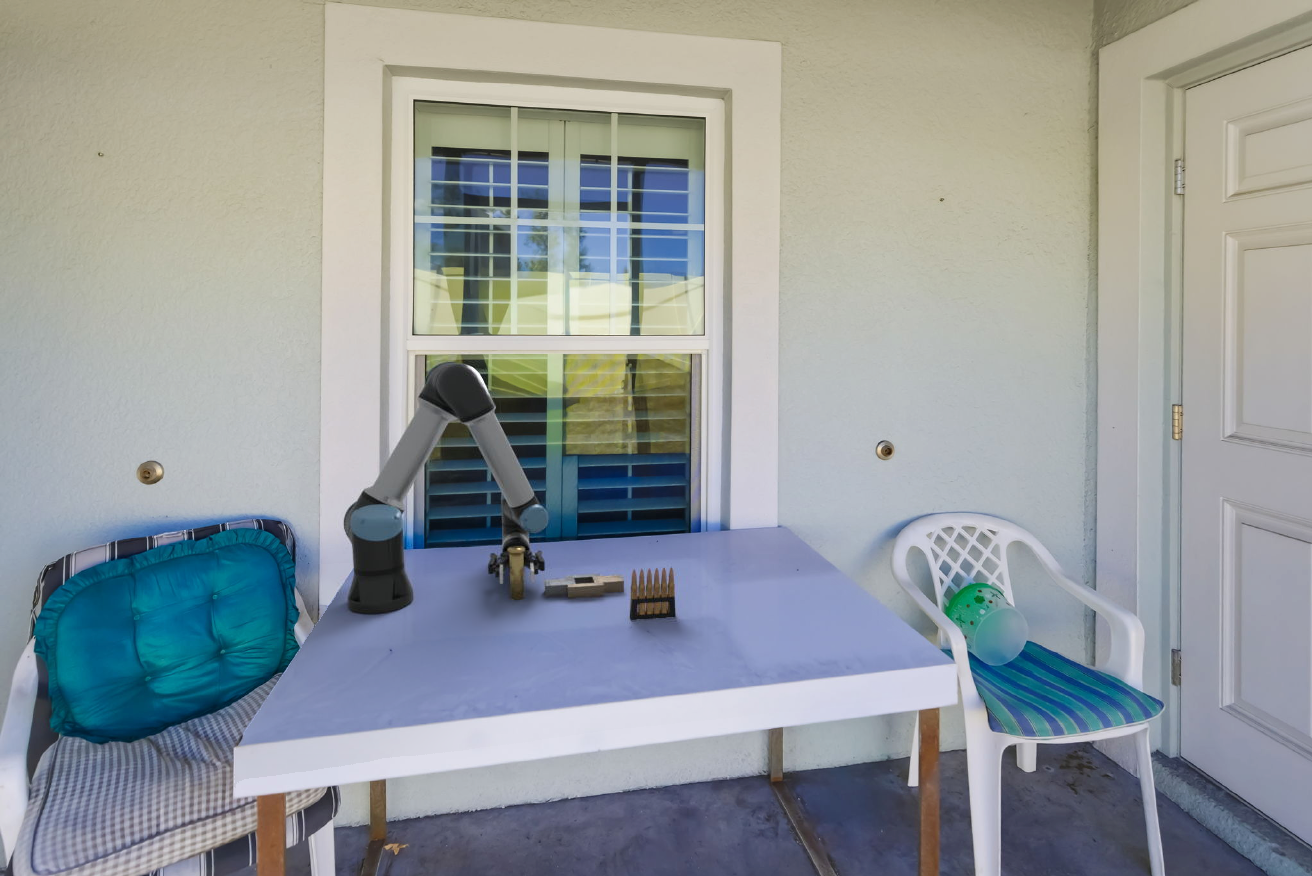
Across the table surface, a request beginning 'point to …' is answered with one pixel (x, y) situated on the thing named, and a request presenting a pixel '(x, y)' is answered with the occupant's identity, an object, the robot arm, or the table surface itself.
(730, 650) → the table surface
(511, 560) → the link pin
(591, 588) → the chain joint
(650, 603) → the ammunition clip
